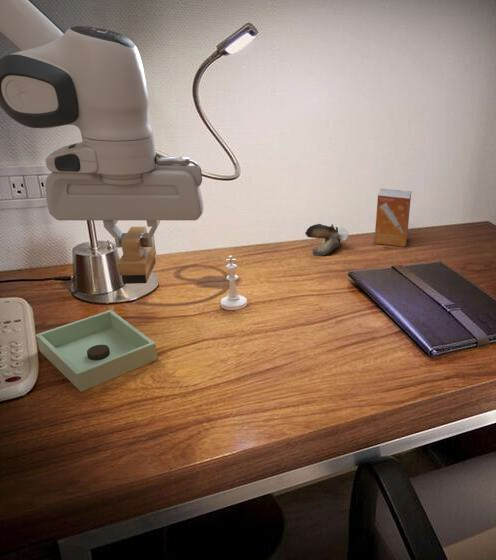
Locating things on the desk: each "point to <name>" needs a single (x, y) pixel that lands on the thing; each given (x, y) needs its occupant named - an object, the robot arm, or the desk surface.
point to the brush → (136, 257)
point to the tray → (87, 333)
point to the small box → (392, 217)
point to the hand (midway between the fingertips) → (135, 246)
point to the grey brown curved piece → (326, 237)
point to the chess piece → (233, 289)
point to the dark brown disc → (98, 352)
